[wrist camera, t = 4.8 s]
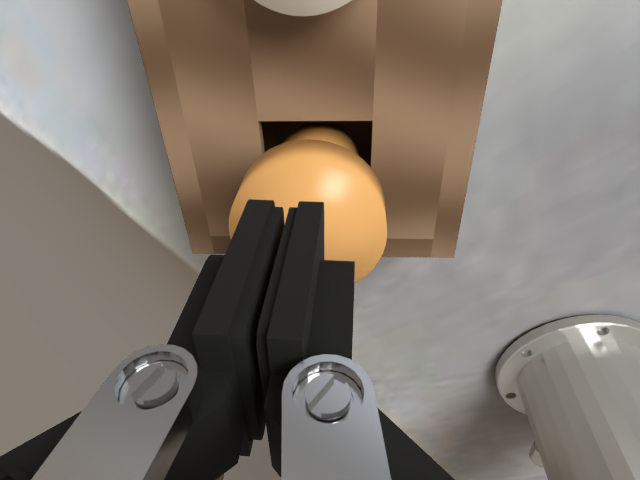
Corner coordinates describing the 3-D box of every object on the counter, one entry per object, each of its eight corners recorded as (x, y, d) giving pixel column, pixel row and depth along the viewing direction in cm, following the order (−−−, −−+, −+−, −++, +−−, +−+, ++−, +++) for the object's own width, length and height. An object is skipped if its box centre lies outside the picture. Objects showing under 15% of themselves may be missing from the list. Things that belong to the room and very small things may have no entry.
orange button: (377, 214, 23) (383, 294, 19) (264, 213, 24) (240, 291, 19) (383, 100, 20) (392, 164, 15) (249, 102, 20) (216, 164, 15)
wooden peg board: (437, 197, 28) (453, 257, 23) (219, 196, 29) (192, 253, 24) (506, -275, 16) (568, -350, 11) (133, -250, 17) (47, -308, 12)
